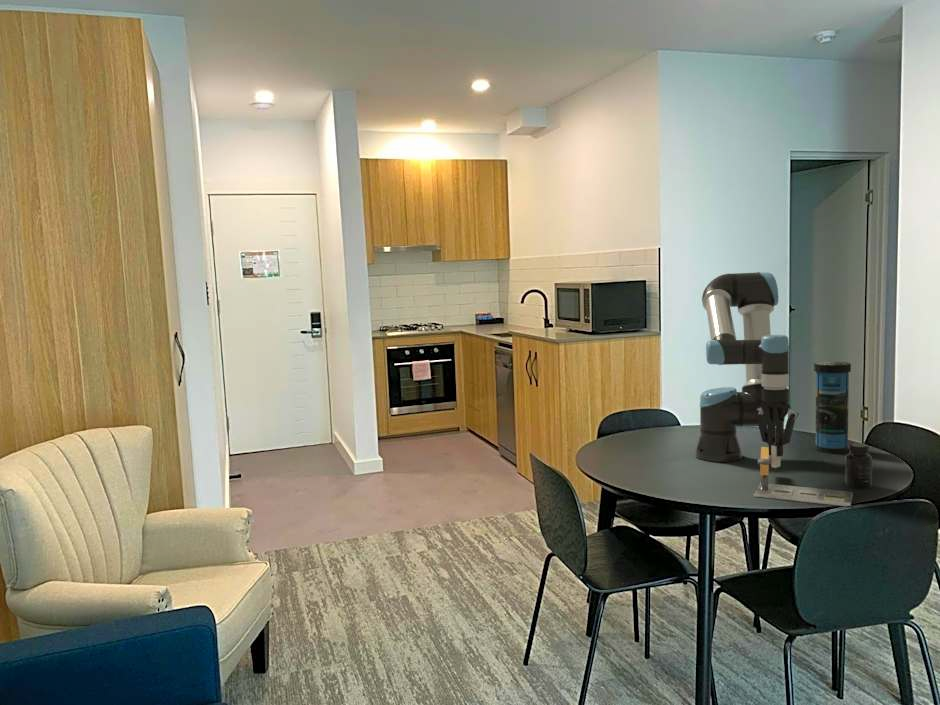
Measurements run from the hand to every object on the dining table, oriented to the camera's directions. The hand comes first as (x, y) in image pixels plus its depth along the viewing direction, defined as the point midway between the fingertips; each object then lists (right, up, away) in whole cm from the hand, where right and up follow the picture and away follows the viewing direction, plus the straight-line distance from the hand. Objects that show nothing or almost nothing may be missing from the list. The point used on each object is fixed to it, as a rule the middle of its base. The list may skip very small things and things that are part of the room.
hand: (775, 466), depth 218 cm
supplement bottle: (+21, -5, -7) cm, 22 cm away
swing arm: (-4, +1, -1) cm, 4 cm away
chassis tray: (+2, -6, -14) cm, 15 cm away
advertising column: (+34, 0, +35) cm, 49 cm away
